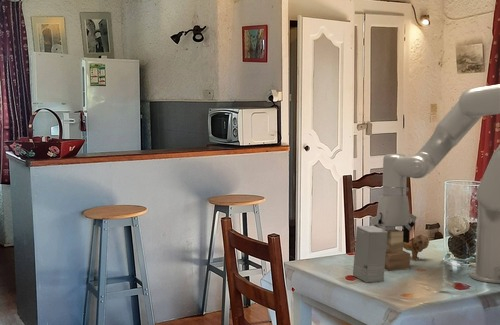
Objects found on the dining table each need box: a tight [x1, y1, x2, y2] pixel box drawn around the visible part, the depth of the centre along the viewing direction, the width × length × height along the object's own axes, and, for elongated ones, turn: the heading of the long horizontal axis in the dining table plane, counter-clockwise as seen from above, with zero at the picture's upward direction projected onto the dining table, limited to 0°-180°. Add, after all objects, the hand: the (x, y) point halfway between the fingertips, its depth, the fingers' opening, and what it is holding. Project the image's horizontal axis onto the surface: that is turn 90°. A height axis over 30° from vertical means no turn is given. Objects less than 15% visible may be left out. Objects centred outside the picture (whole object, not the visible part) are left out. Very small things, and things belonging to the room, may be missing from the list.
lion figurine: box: [403, 234, 430, 262], centre depth 210 cm, size 15×5×9 cm, turn 49°
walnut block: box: [384, 250, 411, 272], centre depth 198 cm, size 8×8×5 cm
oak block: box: [385, 228, 404, 254], centre depth 197 cm, size 4×4×7 cm
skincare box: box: [352, 225, 388, 283], centre depth 184 cm, size 8×7×16 cm
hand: (392, 243), depth 197 cm, fingers open, 9 cm apart
